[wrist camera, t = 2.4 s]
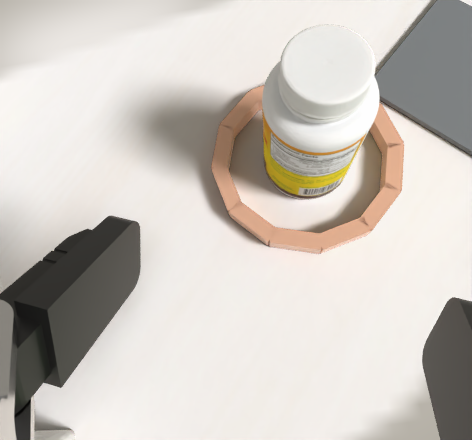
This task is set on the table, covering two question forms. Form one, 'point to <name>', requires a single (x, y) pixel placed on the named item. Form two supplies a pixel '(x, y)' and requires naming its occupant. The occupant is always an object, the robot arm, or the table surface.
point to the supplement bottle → (318, 110)
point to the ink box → (54, 435)
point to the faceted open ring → (296, 239)
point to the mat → (434, 73)
